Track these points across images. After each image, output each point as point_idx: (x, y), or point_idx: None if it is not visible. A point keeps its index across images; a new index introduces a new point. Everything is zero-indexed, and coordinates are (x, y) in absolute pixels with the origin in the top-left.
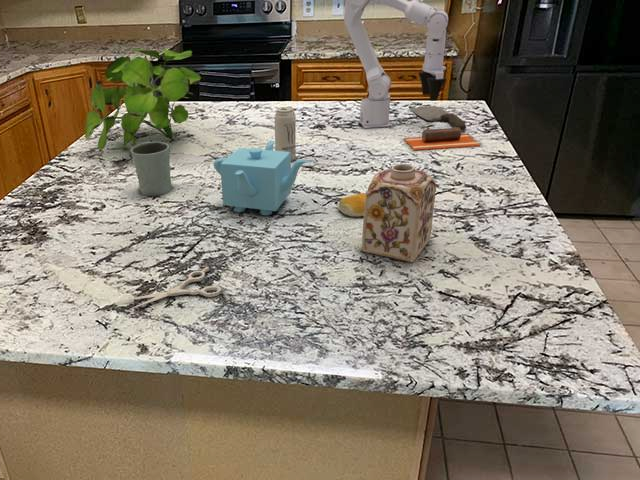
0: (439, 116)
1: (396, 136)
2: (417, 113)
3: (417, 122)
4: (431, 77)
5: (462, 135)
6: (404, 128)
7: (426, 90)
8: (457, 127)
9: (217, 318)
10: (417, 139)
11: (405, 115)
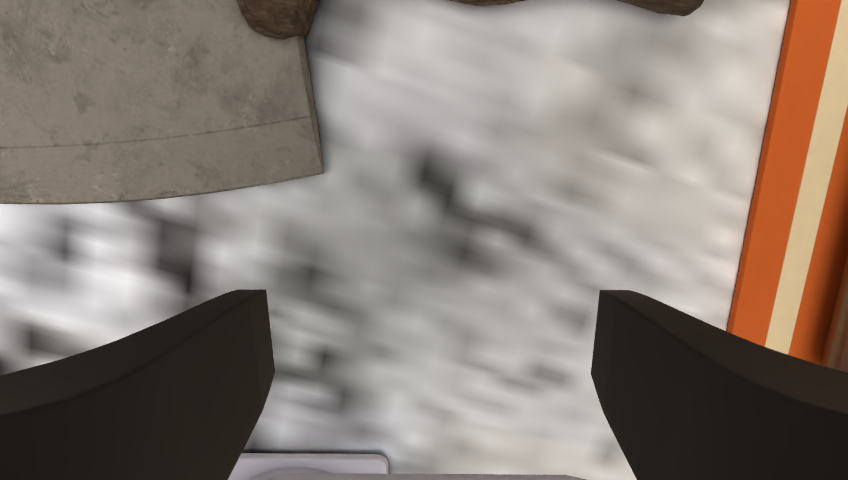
0: (254, 42)
1: (616, 476)
2: (69, 192)
3: (306, 251)
4: (108, 467)
5: (836, 7)
6: (447, 384)
7: (247, 370)
8: (700, 3)
9: None
10: None
11: (85, 286)
